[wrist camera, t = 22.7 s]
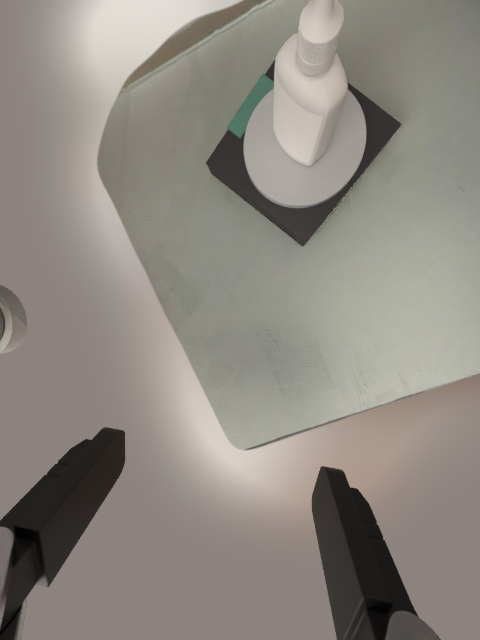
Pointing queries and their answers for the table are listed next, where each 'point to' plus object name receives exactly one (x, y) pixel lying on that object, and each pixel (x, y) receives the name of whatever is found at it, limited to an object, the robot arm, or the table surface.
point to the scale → (290, 176)
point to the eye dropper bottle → (310, 83)
